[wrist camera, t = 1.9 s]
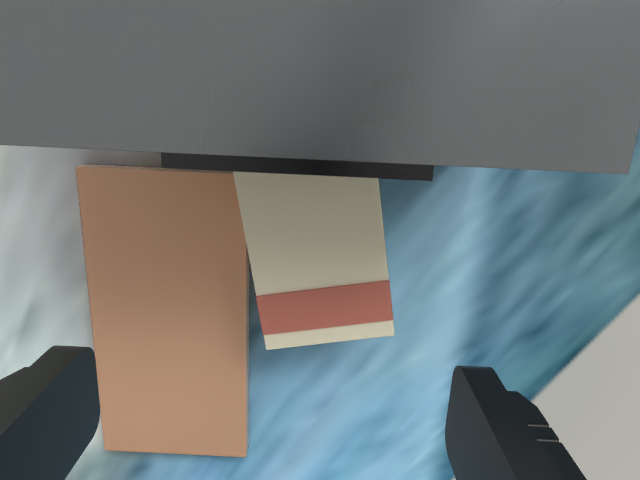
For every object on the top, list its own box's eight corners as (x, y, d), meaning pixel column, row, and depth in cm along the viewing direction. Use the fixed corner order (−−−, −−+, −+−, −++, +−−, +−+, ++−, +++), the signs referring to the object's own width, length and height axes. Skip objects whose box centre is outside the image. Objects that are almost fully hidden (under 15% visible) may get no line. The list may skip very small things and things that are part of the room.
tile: (85, 163, 21) (75, 166, 20) (249, 171, 21) (246, 174, 20) (111, 439, 25) (104, 450, 24) (248, 445, 25) (246, 457, 24)
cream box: (228, 32, 19) (203, 16, 15) (353, 13, 19) (359, -7, 15) (276, 306, 23) (266, 351, 19) (383, 293, 22) (395, 336, 19)
